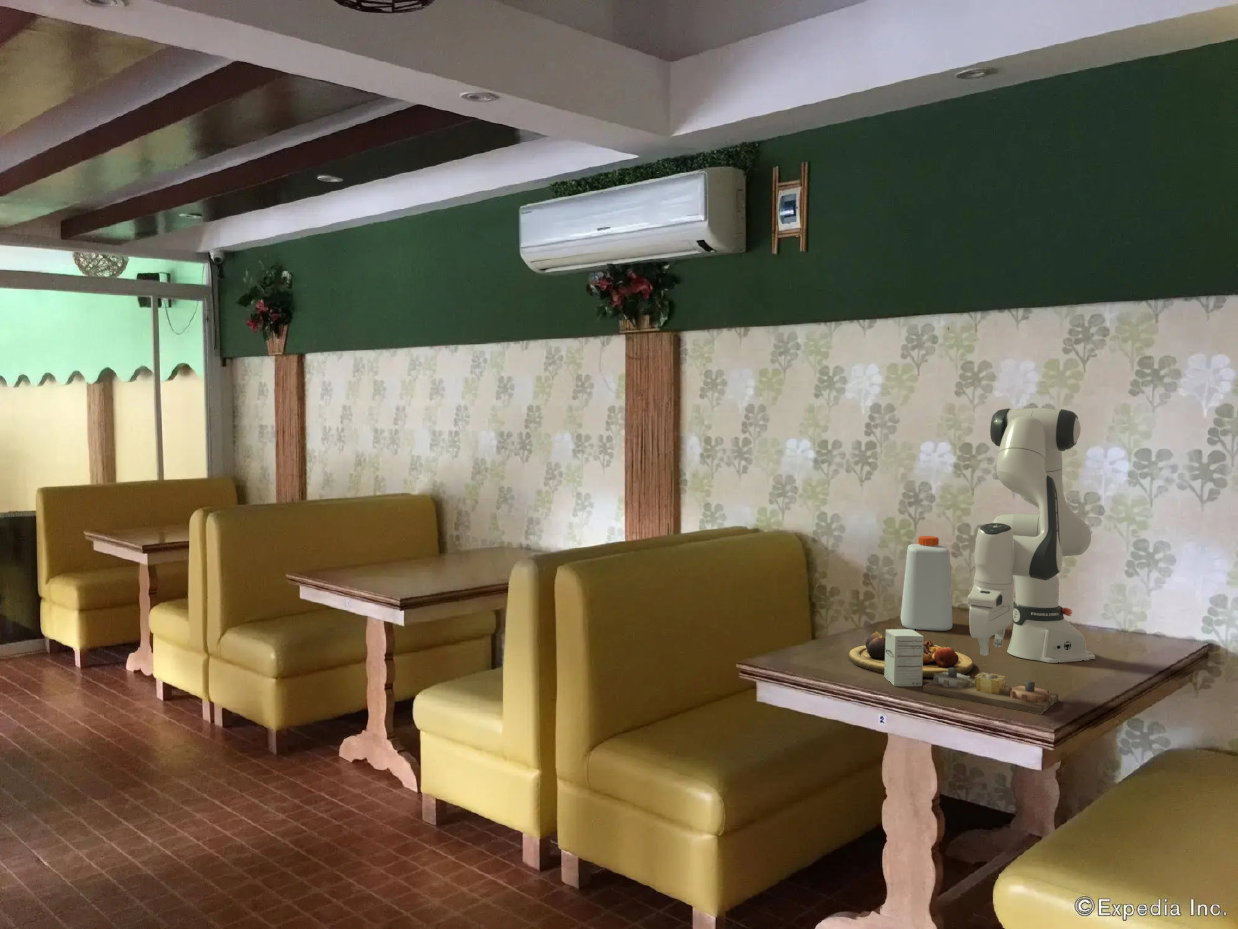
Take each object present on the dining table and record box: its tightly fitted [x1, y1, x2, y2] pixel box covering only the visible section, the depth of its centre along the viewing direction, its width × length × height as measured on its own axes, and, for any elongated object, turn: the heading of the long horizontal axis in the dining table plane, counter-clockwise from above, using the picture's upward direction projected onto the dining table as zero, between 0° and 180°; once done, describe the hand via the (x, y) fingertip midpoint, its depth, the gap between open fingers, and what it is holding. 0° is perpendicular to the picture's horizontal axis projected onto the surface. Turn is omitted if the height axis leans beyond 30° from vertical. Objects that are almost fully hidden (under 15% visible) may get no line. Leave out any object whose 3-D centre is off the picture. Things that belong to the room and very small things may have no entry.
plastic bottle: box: [900, 535, 953, 632], centre depth 310 cm, size 15×15×28 cm
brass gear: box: [974, 671, 1007, 694], centre depth 235 cm, size 6×6×3 cm
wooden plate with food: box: [848, 631, 975, 678], centre depth 265 cm, size 32×32×8 cm
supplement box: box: [883, 628, 925, 687], centre depth 245 cm, size 7×7×13 cm
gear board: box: [922, 668, 1059, 715], centre depth 235 cm, size 14×27×5 cm, turn 52°
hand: (991, 650), depth 235 cm, fingers open, 8 cm apart
